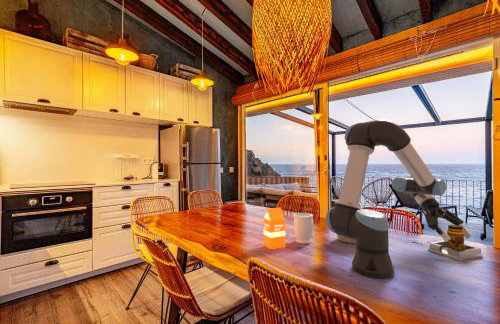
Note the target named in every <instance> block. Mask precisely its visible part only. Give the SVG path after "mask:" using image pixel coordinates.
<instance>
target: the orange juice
mask: <svg viewBox="0 0 500 324" xmlns="http://www.w3.org/2000/svg"><path fill="white" fill-rule="evenodd" d="M264 245H265V246H264ZM263 246H264V247H266V248H267V247H268V249H269V250H270V249H273V250H276V249H277V248H278V249H282V247H283V248H286V218H285V216H284V213H283V210H282V207H273V208H266V211H265V214H264V216H263ZM278 249H277V250H278Z"/></svg>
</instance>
